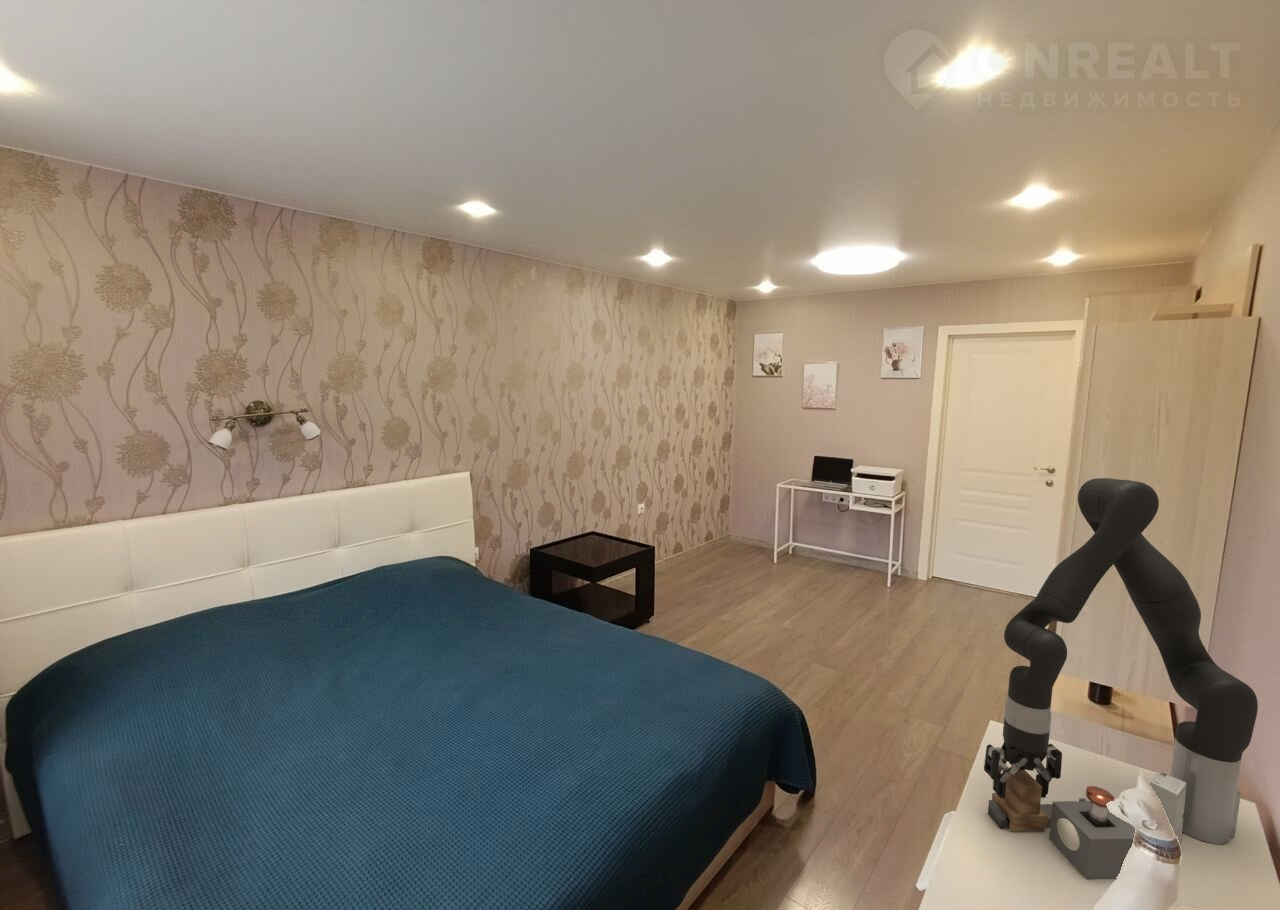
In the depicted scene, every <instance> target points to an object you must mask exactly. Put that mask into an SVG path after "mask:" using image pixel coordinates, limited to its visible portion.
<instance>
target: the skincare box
mask: <svg viewBox="0 0 1280 910" xmlns="http://www.w3.org/2000/svg"><path fill="white" fill-rule="evenodd" d="M1152 777H1153V778H1152V779H1151V780H1150V781H1149V783H1150V785H1151V786H1152V788H1153V790H1154V791H1155V793H1156V795H1157V796H1158V798H1159V799H1160V801H1161V804H1162V805H1163V808H1164V810H1165V812H1166V815H1167V817H1168V819H1169V822H1170V824H1171V826H1172V828H1173V831H1174V833H1175V835H1176V836H1177V837H1178V840H1179V842H1180V843H1181V841H1182V835H1183V831H1182V827H1183V816H1184V806H1185V793H1186V782H1183V781H1181V780H1179V779H1177V778H1174V777H1172V776H1170V775H1169V774H1168V773H1167V774H1166V773H1164V772H1162V771H1158V772H1157V773H1156V774H1154V776H1152Z"/></svg>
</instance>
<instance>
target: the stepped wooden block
mask: <svg viewBox="0 0 1280 910" xmlns="http://www.w3.org/2000/svg"><path fill="white" fill-rule="evenodd" d="M1003 772H1004V769H1003V770H1002V773H1003ZM1005 782H1006V792H1005V798H1000V797H999V796H998V795H997V794H996V793H995V792H992V794H991V800H994V801H995V802H996V803H997V804H998V805H999V807H1000V808H1001V809H1002V810H1003V811H1004V812H1005V813H1006V816H1007V817H1008V819H1009V820H1010V822H1009V829H1008V830H1009V831H1010V832H1028V831H1031V832H1036V831H1038V832H1041V831H1042V832H1043V831H1046V830H1047V828H1046V823H1048V815H1047V814H1046V813H1045V812H1044V811H1043V810H1042V809H1041V808H1040V804H1041V801H1042V798H1041V793H1042V786H1041V785H1040V784H1039V783H1038V782H1037V781H1036V778H1035V779H1034V778H1033V776H1032V775H1030V773H1029V772H1028V771H1027V770H1023V771H1017V772H1016V773H1015V774H1014V775H1010V776H1009V777H1008V779H1007V780H1006V781H1005Z"/></svg>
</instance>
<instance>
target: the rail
mask: <svg viewBox="0 0 1280 910" xmlns="http://www.w3.org/2000/svg"><path fill="white" fill-rule="evenodd" d="M1078 801H1087V799H1086V798H1079V800H1078ZM1052 804H1053V803H1045V804H1044V803H1043V804H1041V803H1040V808H1041V809H1042V810H1043V811H1044V812H1045V813H1046V814H1047V815H1048V823H1046V829H1050V824H1051V814H1052ZM987 815H988V816H989V817H990V819H991V820H992V821H993V822H994V823H995V825H996V826H997V827H998V828H999V829H1000V830H1010V829H1009V822H1010V820H1009V819H1008V817H1007V816H1006V813H1005V812H1004V811H1003V810H1002V809H1001V808H1000V807H999V805H998V804H997V803H996V802H995V801H994V800H992V799H988V807H987Z"/></svg>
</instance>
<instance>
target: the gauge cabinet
mask: <svg viewBox="0 0 1280 910" xmlns="http://www.w3.org/2000/svg"><path fill="white" fill-rule="evenodd" d="M1051 804H1052V814H1051V824H1050V828H1049V835H1048V839H1049V840H1050V841H1051V843H1052V844H1053V845H1054V846H1055V847H1056V848H1057V849H1058V850H1059V852H1060V853H1062V855H1064V857H1065V858H1066V859H1067V860H1068V861H1069V862H1070V863H1071V865H1072V866H1073V867H1074V868H1076V870H1077V871H1078V872H1079V873H1080V874H1081V876H1083V877H1084V879H1086V880H1103V879H1104V880H1116V879H1115V878H1116V877H1117V876H1118V874H1119V873H1120V870H1121V867H1122V864H1123V861H1124V859H1125V857H1126V855H1127V853H1128V851H1129V849H1130V848H1131V846H1132V843H1133V838H1134V833H1135V829H1136V828H1135V827H1134V826H1133V825H1132V824H1130V823H1129V822H1128V821H1127V822H1128V823H1127V822H1125V821H1123V820H1121V819H1120V818H1118V817H1116V816H1115V815H1113V814H1112V813H1110V812H1109V810H1108V813H1107V822H1106V827H1094V826H1093V825H1092V824H1091V823H1090V822H1089V821H1088V815H1089V806H1090V800H1086V801H1079V800H1076V801H1075V800H1073V801H1072V800H1071V801H1065V800H1063V801H1059V800H1058V801H1052V803H1051Z"/></svg>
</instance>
